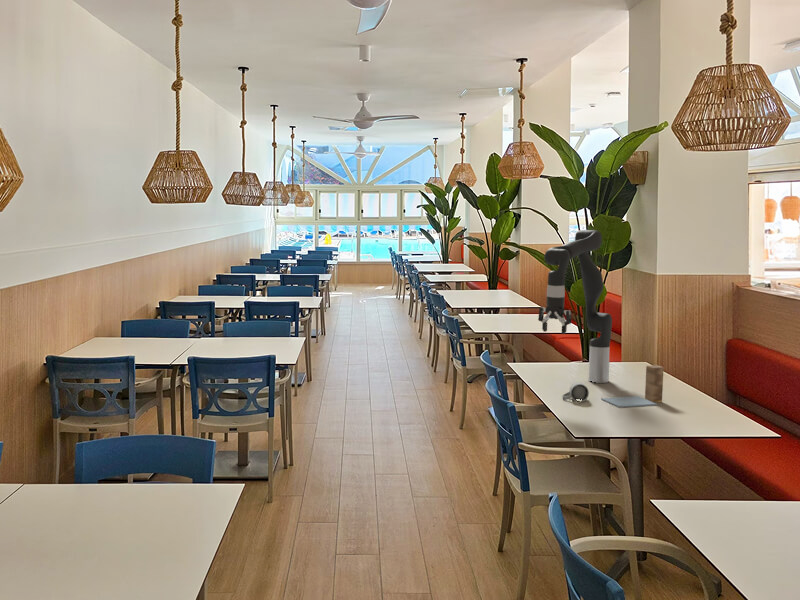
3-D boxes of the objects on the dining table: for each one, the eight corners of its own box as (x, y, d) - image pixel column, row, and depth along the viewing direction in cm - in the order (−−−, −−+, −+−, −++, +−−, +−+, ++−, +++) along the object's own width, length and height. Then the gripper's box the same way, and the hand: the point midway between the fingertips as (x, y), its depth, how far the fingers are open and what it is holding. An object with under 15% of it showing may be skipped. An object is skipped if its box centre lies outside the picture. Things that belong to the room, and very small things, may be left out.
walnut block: (654, 399, 313) (656, 365, 311) (661, 401, 308) (663, 367, 307) (644, 399, 312) (646, 365, 310) (651, 402, 307) (653, 367, 305)
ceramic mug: (585, 397, 314) (586, 380, 314) (588, 402, 306) (589, 384, 306) (561, 397, 315) (561, 380, 315) (563, 401, 307) (563, 384, 307)
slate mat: (637, 397, 316) (637, 395, 316) (657, 405, 302) (657, 403, 302) (601, 399, 311) (601, 398, 311) (619, 407, 298) (619, 406, 298)
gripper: (574, 296, 307) (573, 333, 309) (544, 292, 316) (543, 329, 318) (567, 298, 301) (565, 336, 304) (536, 294, 310) (535, 331, 312)
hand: (554, 332), depth 311 cm, fingers open, 8 cm apart
